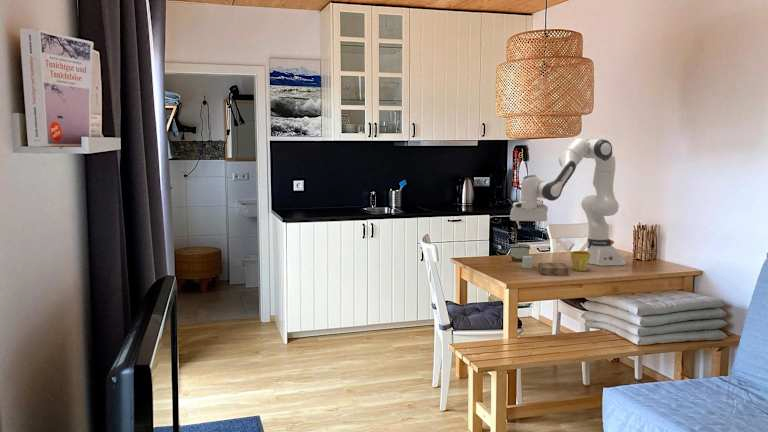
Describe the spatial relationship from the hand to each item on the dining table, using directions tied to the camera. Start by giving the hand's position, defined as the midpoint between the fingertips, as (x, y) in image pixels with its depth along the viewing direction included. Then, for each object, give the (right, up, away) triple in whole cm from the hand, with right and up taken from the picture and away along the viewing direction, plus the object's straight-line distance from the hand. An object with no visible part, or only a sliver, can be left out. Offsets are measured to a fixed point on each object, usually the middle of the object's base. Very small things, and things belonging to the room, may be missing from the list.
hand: (528, 228), depth 363 cm
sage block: (0, -22, +2) cm, 22 cm away
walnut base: (+11, -23, -13) cm, 29 cm away
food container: (-1, -20, +20) cm, 28 cm away
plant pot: (+27, -23, -6) cm, 36 cm away
